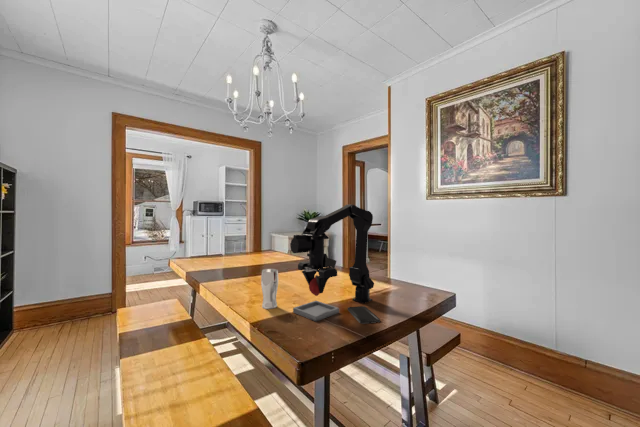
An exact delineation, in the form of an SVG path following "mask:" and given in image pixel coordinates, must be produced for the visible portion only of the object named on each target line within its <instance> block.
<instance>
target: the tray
mask: <svg viewBox="0 0 640 427" xmlns="http://www.w3.org/2000/svg"><path fill="white" fill-rule="evenodd" d="M292 313H293V314H296V315H298V316H301V317H304V318H306V319H309V320H310V321H313V322H319V321H321V320H324V319H326V318H329V317H331V316H335V315H337V314H340V308H339V307H338V306H334V305H332V304H328V303H324V302H322V301H319V300H314V301H311V302H308V303H304V304H301V305H298V306H295V307H293V308H292Z"/></svg>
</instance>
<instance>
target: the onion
mask: <svg viewBox="0 0 640 427" xmlns="http://www.w3.org/2000/svg"><path fill="white" fill-rule="evenodd" d="M316 276H319V274H315V276H314V278H313V279H312V280H311V281H310V284H309V285H308V288H309V292H311V294H312V295H314V296H316V297H318V296H319V295H320V294H321V293H320V292H319V288H318V284H317V279H316Z"/></svg>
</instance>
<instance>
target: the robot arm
mask: <svg viewBox="0 0 640 427" xmlns="http://www.w3.org/2000/svg"><path fill="white" fill-rule="evenodd" d="M348 217H349V218H350V219H352V220H353V222H352V223H353V226H354V229H355V231H356V234H355V250H354V251H355V252H354V263H353V265H352V266H349V268H348V270H349V271H348V272H349V273H348V277H349V280H350V281H351V285H352V286H355V290H354V291H355V292H354V293H355V295H354V298H352V301H355V302H357V303H361V304H366V303H368V302H372V301H373V298H370V293H371V292H370V290H372V289H373V288H374V286H375V282H374V281H373V280H372V278H371V277H370V270H369V268H368V265H367V256H368V252H367V251H368V235H369V234H368V233H369V230H370V229H371V227H372V225H373V219H374V216H373V214H372V212H371V211H370V210H365V209H363V208H361V207H359V206H357V205H355V204H345V205H343V207H340V208H338V209H336V210H335V211H333V212H330V213H328V214H326V215H322V216H317V217H312V218H310V219H309V220H308V221H307V223H306V226H305V227H304V230H303V231H302V233H301V234H293V238H291V240H290V243H289V244H290V245H289V246H290V251H291V253H293V254H302V253H306V257H308V258H309V260H307V261H302V262H299V263H298V264H297V270H299V271H301V274H302V275H303V276H304V278H305V280H306V282H307V284H308V286H309V284H310V281H311V280H312V279H313V278H315V276H316V275H317V274H316V273H318V276H316V279H317V284H318V288H319V292H320V294H323V293H324V290H325V288H326V284H327V282H328V280H329V279H330V278H333V277H335V278H336V277H338V270H337V268H336V263H337V260H335V259H332V258H330V257H328V255H327V253H325V240H329V239H330V238H329V235H327V234H326V232H327V231H329V230H330V229H331V227H332V225H334V224H336V223H338V222H339V221H342V220H344V219H346V218H348Z"/></svg>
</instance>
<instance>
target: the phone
mask: <svg viewBox="0 0 640 427" xmlns="http://www.w3.org/2000/svg"><path fill="white" fill-rule="evenodd" d="M347 311H348V312H349V313H350V315H351V316H353V318H354V319H355V320H356V321H357V322H358V323H359V324H362V325H365V324H366V325H367V324H376V322H378V323H380V322H381V319H380V317H378V316H377V315H376V314H375V313H373V312H372V311H371V310H370V309H369V308H368V307H366V306H364V305H361V306H349V307H347Z"/></svg>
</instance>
